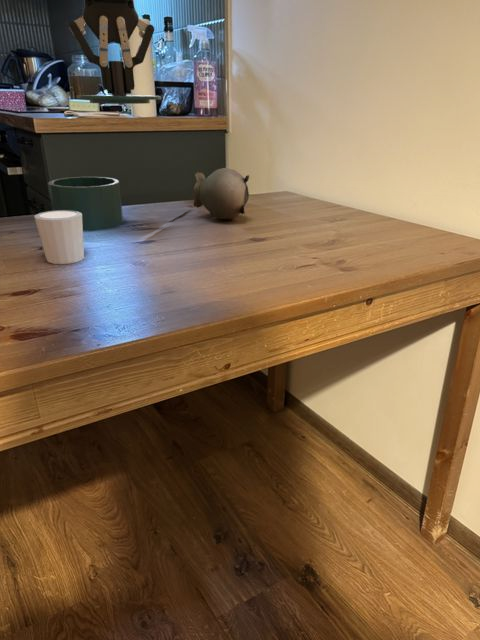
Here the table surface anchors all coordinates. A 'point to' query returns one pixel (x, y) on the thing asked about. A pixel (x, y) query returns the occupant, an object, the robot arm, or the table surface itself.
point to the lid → (118, 89)
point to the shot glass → (61, 236)
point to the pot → (89, 200)
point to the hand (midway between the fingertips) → (119, 93)
